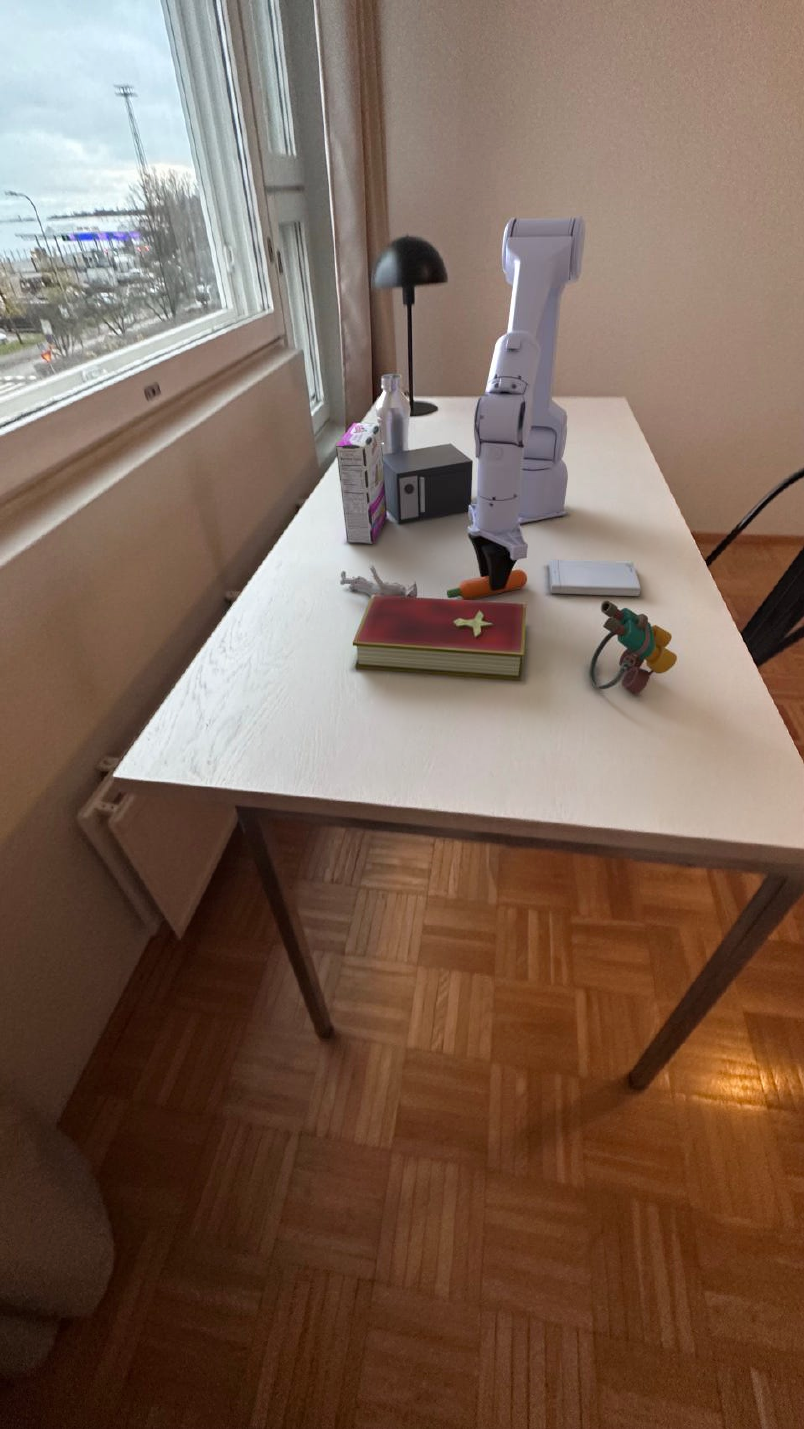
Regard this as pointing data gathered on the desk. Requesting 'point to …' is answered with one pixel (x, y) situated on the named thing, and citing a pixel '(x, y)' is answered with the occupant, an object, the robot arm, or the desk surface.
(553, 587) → the hard drive
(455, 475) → the mini oven
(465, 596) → the carrot
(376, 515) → the candy bar box
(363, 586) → the soldier figure
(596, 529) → the desk surface
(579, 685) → the desk surface
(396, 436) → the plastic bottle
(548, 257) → the robot arm
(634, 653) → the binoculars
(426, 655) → the hardcover book
